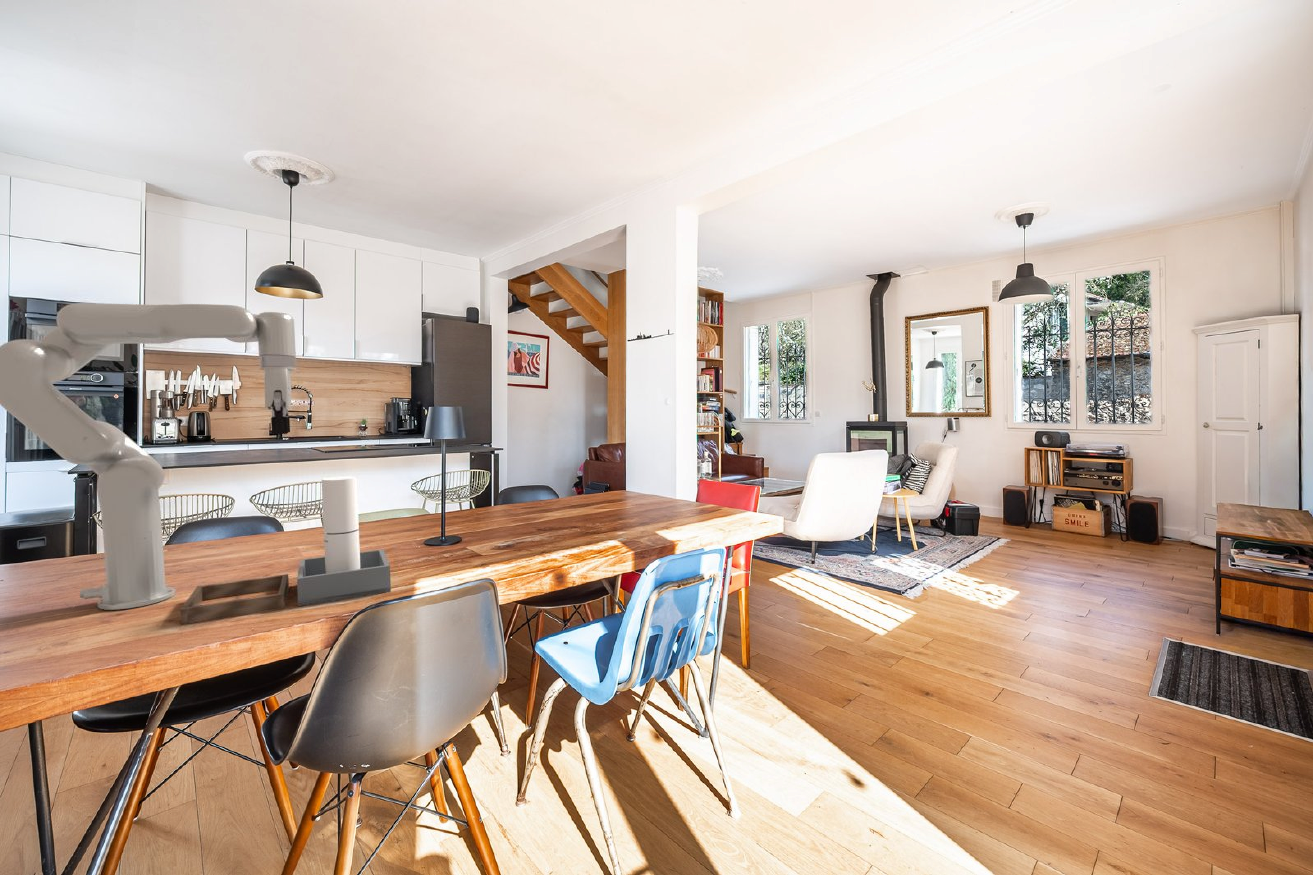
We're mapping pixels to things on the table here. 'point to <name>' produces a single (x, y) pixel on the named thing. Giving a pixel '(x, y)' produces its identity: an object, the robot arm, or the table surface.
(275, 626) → the table surface
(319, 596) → the charcoal bin
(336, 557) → the cylindrical container
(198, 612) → the walnut frame
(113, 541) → the robot arm
